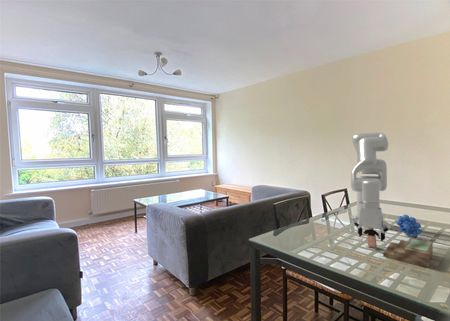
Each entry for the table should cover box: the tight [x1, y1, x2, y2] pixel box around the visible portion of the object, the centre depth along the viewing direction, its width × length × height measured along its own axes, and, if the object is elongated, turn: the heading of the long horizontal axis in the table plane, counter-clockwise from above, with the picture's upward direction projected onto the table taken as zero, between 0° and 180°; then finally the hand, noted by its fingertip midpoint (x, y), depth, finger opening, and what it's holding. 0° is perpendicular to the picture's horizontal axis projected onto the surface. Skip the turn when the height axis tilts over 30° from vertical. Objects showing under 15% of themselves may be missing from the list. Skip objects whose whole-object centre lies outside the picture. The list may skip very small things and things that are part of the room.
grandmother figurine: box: [362, 228, 381, 250], centre depth 121 cm, size 8×4×13 cm, turn 65°
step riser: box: [383, 237, 434, 269], centre depth 110 cm, size 16×16×6 cm
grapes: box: [395, 214, 423, 238], centre depth 132 cm, size 12×7×12 cm, turn 37°
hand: (371, 237), depth 121 cm, fingers open, 9 cm apart
